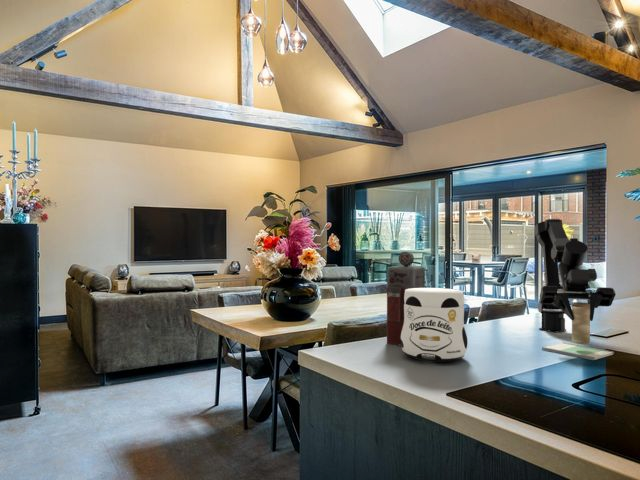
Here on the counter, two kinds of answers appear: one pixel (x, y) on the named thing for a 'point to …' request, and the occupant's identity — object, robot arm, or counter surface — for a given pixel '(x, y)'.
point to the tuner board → (578, 351)
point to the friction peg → (581, 323)
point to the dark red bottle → (400, 293)
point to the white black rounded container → (434, 324)
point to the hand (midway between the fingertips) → (582, 319)
